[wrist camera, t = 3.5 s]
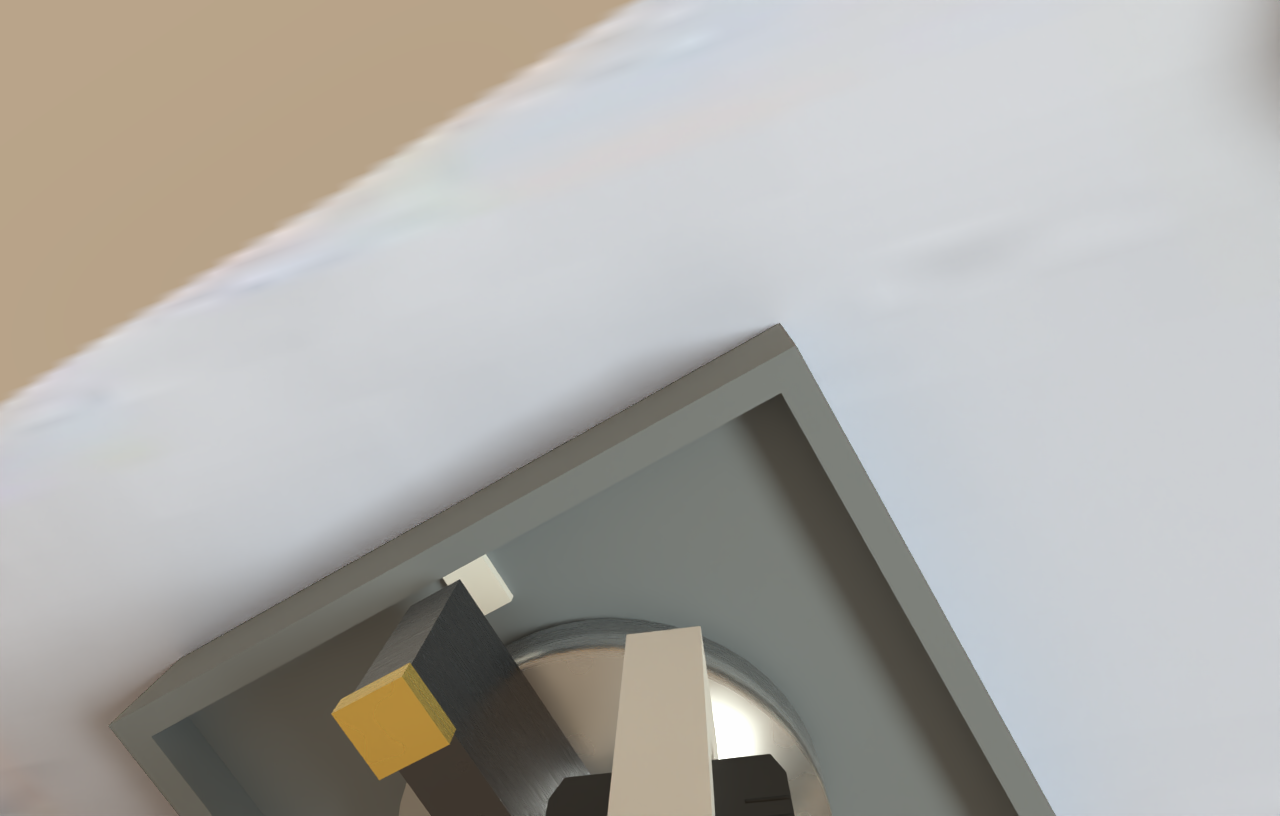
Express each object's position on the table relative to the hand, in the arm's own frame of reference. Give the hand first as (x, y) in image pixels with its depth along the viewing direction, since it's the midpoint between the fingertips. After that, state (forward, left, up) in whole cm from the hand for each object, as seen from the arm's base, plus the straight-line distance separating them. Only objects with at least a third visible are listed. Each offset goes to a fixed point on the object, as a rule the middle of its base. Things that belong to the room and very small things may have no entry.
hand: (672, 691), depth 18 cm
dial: (-3, +4, -5) cm, 7 cm away
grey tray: (-5, +4, -7) cm, 10 cm away
